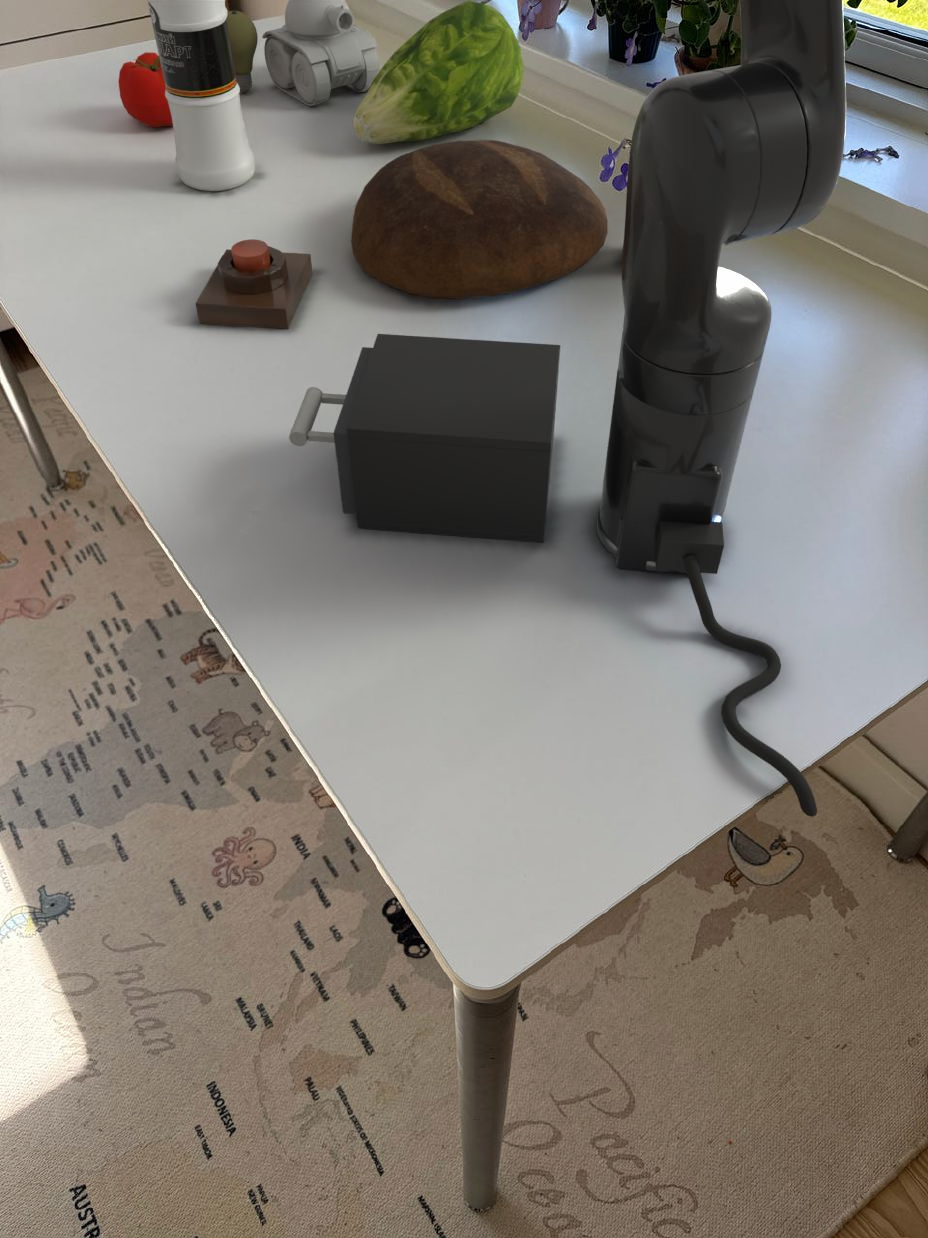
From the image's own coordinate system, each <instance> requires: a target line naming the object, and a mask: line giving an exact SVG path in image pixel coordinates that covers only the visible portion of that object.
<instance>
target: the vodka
mask: <svg viewBox="0 0 928 1238" xmlns="http://www.w3.org/2000/svg"><path fill="white" fill-rule="evenodd" d="M146 1H147V5H148V9H149V15H150V19H151V23H152V24H151V25H152V30H153V33H154V38H155V44H156V49H157V54H158V56H159V58H160V63H161V68H162V73H163V78H164V82H165V87H166V91H165V96H166V98H167V100H168V104H169V108H170V112H171V116H172V122H173V126H172V127H173V133H174V135H173V136H174V145H175V165H176V167H175V168H176V171H177V175H178V177H179V179H180V180H181V181H182V183H183V184H185V185H186V186H188V187H190V188H193V189H195V190H199V191H203V192H222V191H229V190H232V189H236V188H239V187H240V186H243V185H244V184H246V183H247V182H248V181H249V180H250V179H251V178H253V177H254V175H255V171H256V161H255V155H254V151H253V150H252V148H251V144H250V142H249V138H248V134H247V131H246V126H245V121H244V117H243V116H244V115H243V112H242V106H241V105H242V104H241V96H240V93H241V92H240V87H239V85H238V83H237V82H236V76H235V70H234V63H233V57H232V51H231V44H230V38H229V32H228V25H227V19H226V17H227V12H228V9H227V7H226V0H146Z"/></svg>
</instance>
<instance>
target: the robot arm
mask: <svg viewBox="0 0 928 1238" xmlns="http://www.w3.org/2000/svg"><path fill="white" fill-rule="evenodd" d="M738 4H739V16H740V17H739V18H740V64H739V65H733V66H727V67H722V68H715V69H710V70H703V71H698V72H693V73H687V74H683V75H678V76H674V77H671V78H668V79H665V80H663V81H661V82H660V83H658V84H657V85H656V86H655V87H654V88H652V89H651V91H650V92H649V93H648V95H647V96H646V98H645V99H644V101H643V103H642V105H641V106H640V109H639V112H638V115H637V117H636V120H635V124H634V127H633V128H634V129H633V132H632V136H631V143H630V148H629V154H628V155H629V156H628V167H627V179H626V196H625V197H626V199H625V202H626V203H625V216H624V231H623V243H622V244H623V245H622V254H621V255H622V256H621V287H622V298H623V307H624V317H623V323H622V324H623V325H622V333H621V340H620V348H619V350H620V351H619V357H618V365H617V372H616V379H615V386H614V395H613V402H612V409H611V410H612V411H611V418H610V426H609V435H608V441H607V449H606V458H605V464H604V466H605V467H604V473H603V481H602V489H601V490H602V491H601V499H600V506H599V508H598V512H597V520H596V530H597V531H596V533H597V535H598V538H599V540H600V542H601V543H602V545H603V546H604V548H605V549H606V550H607V551H608V552H609V553H610V554H611V555H613V556H614V557H615V560H616V562H615V563H616V567H617V568H619V569H624V570H638V571H651V572H657V573H673V574H676V573H677V574H687V578H688V580H689V585H690V588H691V591H692V594H693V597H694V600H695V603H696V606H697V608H698V612H699V616H700V619H701V622H702V625H703V627H704V628H705V630H706V631H707V632H708V633H709V634H710V635H711V636H712V637H713V638H714V639H715V640H716V641H719V642H720V643H722V644H723V645H727V646H729V647H732V648H735V649H738V650H743V651H746V652H751V653H753V654H755V655H758V656H760V657H762V658H763V659H764V660H765V663H766V668H765V669H764V670H763V671H762V672H761V673H759V674H758V675H756V676H754V677H752V678H751V679H749V680H747V681H745V682H743V683H741V684H740V685H738V686H736V687H735V688H734V689H732V690H730V691H729V692H728V694H727V695H726V696H725V698H724V700H723V702H722V704H721V711H720V714H721V718H722V722H723V725H724V727H725V728H726V731H727V732H728V733H729V735H730V736H731V737H732V738H733V739H734V740H735V741H736V742H737V743H738V744H739V745H740V746H741V747H743V748H745V749H746V750H747V751H748V752H750V753H752V754H753V755H754V756H756V757H757V758H759V759H761V760H762V761H764V762H765V763H767V764H768V765H770V766H771V767H772V768H774V769H775V770H776V771H777V772H779V773H780V774H781V775H782V776H783V777H784V778H785V779H786V780H787V782H788V783H789V784H790V785H791V787H792V789H793V791H794V792H795V794H796V797H797V800H798V803H799V807H800V809H801V812H802V813H803V814H805V815H806V816H808V817H811V818H814V817H815V816H817V814H818V806H817V803H816V799H815V796H814V793H813V791H812V789H811V787H810V785H809V783H808V781H807V779H806V778H805V776H804V775H803V773H802V772H801V771H800V770H799V769H798V767H797V766H795V765H794V763H792V762H791V761H790V760H789V759H788V758H786V757H785V756H784V755H782V754H781V753H780V752H778V751H777V750H775V749H774V748H773V747H771V746H769V745H768V744H767V743H765V742H763V741H762V740H760V739H759V738H757V737H756V736H754V735H753V734H751V733H750V732H749V731H748V730H746V729H745V728H744V727H743V725H741V723H740V721H739V720H738V719H739V718H738V715H737V706H738V705H739V704H740V703H741V702H743V701H745V699H747V698H748V697H750V696H752V695H754V694H756V693H758V692H760V691H761V690H763V689H765V688H767V687H768V686H770V685H771V684H772V683H773V682H774V681H775V682H776V679H777V678H778V676H779V675H780V673H781V668H782V663H781V658H780V656H779V654H778V653H777V651H776V650H775V649H774V648H773V647H772V646H771V645H769V644H768V643H766V642H764V641H761V640H759V639H755V638H752V637H748V636H744V635H740V634H737V633H735V632H732V631H729V630H727V629H725V628H724V627H723V626H722V625H721V624H720V623H719V622H718V620H717V618H716V617H715V615H714V611H713V606H712V603H711V600H710V598H709V594H708V592H707V588H706V586H705V582H704V579H703V576H702V574H713V575H717V574H718V572H719V568H720V563H721V561H722V556H723V553H724V548H725V539H724V538H725V537H724V528H723V527H724V526H723V525H724V524H723V522H722V521H723V519H724V513H725V510H726V506H727V500H728V497H729V493H730V488H731V485H732V481H733V477H734V474H735V470H736V469H735V468H736V465H737V461H738V456H739V452H740V448H741V444H742V441H743V437H744V432H745V429H746V426H747V425H746V424H747V420H748V416H749V413H750V409H751V405H752V404H751V403H752V401H753V396H754V392H755V388H756V385H757V381H758V377H759V373H760V369H761V365H762V360H763V356H764V353H765V348H766V344H767V340H768V337H769V332H770V328H771V324H772V323H771V322H772V306H771V302H770V299H769V298H768V296H767V294H766V293H765V292H764V290H762V288H761V287H760V286H758V284H756V283H755V282H754V281H753V280H751V279H749V278H748V277H746V276H744V275H742V274H740V273H738V272H736V271H734V270H732V269H729V268H726V267H723V266H720V265H719V263H720V257H721V253H722V252H721V251H722V249H723V247H725V246H728V245H729V246H730V245H733V244H737V243H742V242H746V241H751V240H755V239H759V238H763V237H769V236H773V235H777V234H781V233H785V232H789V231H792V230H795V229H798V228H801V227H803V226H806V225H808V224H810V223H811V222H813V221H814V220H815V219H816V218H817V217H819V215H820V214H821V213H823V211H824V210H825V208H826V206H827V205H828V204H829V203H830V200H831V198H832V197H833V194H834V192H835V189H836V186H837V184H838V181H839V178H840V173H841V169H842V164H843V158H844V151H845V142H846V141H845V140H846V129H847V127H846V125H847V87H846V86H847V85H846V57H845V56H846V55H845V52H846V51H845V26H844V0H738Z"/></svg>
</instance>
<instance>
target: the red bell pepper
mask: <svg viewBox="0 0 928 1238" xmlns="http://www.w3.org/2000/svg"><path fill="white" fill-rule="evenodd" d="M133 60H134V62H133V61H126V62H124V63H123V64H122V66H121V67H120V69H119V74H118V91H119V97H120V100H121V104H122V106H123V108H124V109H125V111H126V112H127V114H128V115H129V116H130V117H131V118H133V119H134V120H137V121H139V122H140V123H141V124H144V125H146V126H147V127H150V128H159V127H165V126H167V127H173V122H172V116H171V112H170V108H169V104H168V100H167V98H166V96H165V91H166V87H165V82H164V78H163V73H162V68H161V63H160V58H159V54H158V53H156V52H148V51H146V52H144V53H142V54H140V55H138V56H137V58H136V59H135V58H134V59H133Z"/></svg>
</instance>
